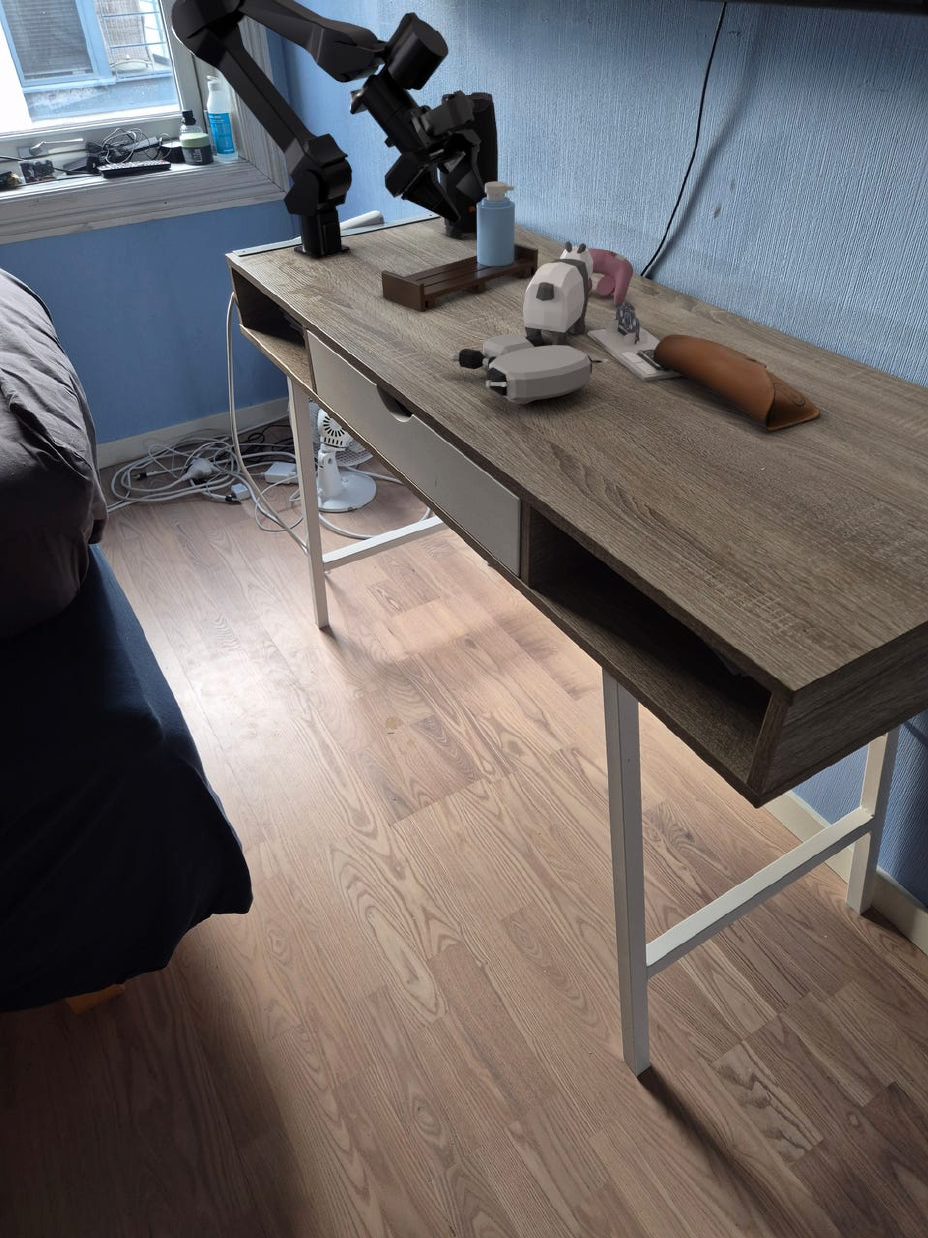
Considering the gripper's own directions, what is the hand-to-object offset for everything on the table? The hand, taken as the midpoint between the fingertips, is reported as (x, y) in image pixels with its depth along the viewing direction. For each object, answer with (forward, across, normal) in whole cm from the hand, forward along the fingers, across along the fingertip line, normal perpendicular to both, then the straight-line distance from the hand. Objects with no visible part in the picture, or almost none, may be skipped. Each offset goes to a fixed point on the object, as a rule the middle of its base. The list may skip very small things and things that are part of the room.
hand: (472, 212), depth 121 cm
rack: (+7, -6, +5) cm, 10 cm away
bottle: (+7, 0, +2) cm, 7 cm away
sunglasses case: (+36, -26, -26) cm, 52 cm away
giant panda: (+20, -18, -9) cm, 28 cm away
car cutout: (+28, -20, -16) cm, 38 cm away
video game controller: (+20, -3, -8) cm, 21 cm away
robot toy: (+22, -34, -10) cm, 42 cm away
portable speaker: (-1, +18, +13) cm, 22 cm away
